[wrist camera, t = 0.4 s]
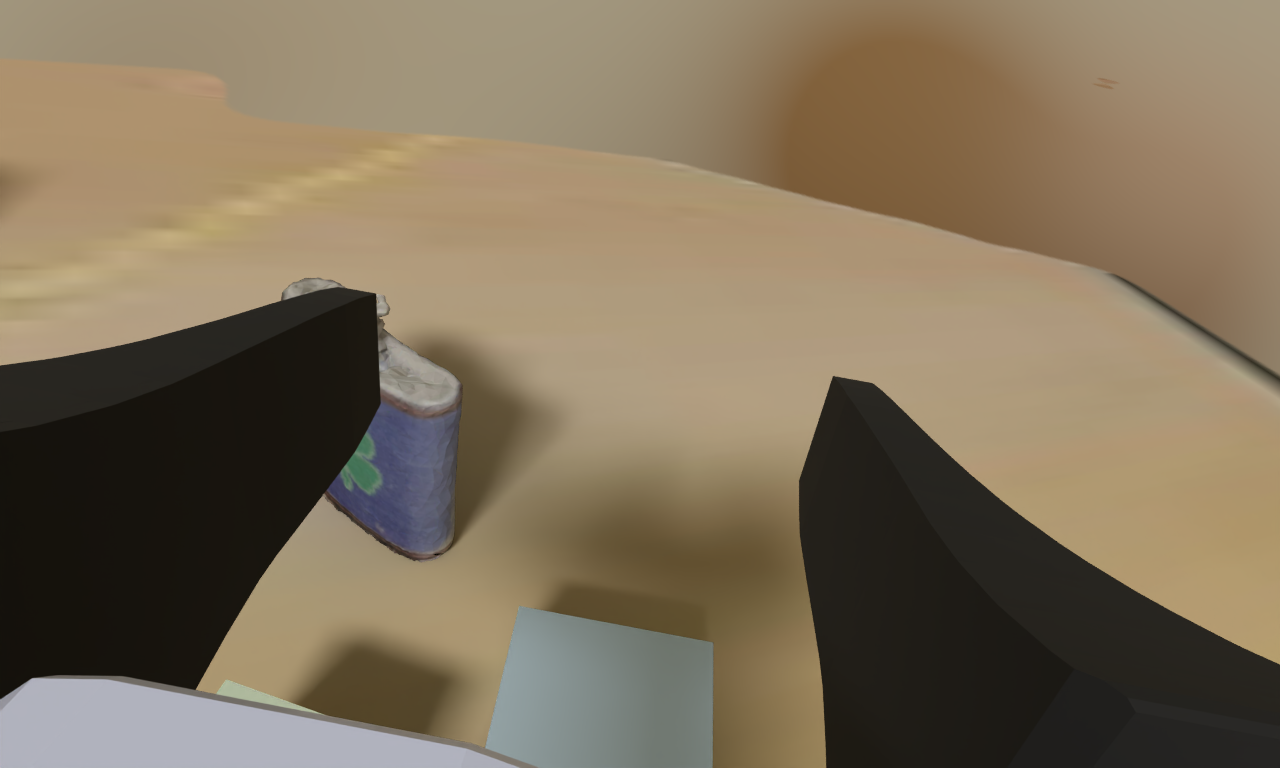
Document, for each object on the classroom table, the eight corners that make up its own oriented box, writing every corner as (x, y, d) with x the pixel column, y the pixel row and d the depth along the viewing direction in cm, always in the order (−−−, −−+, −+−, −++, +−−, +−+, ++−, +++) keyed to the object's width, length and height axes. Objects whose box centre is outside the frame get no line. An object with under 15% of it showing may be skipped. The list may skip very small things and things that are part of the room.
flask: (466, 541, 32) (480, 348, 25) (410, 581, 30) (409, 385, 23) (335, 424, 35) (315, 227, 28) (277, 454, 33) (241, 250, 26)
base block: (678, 907, 23) (711, 866, 21) (460, 872, 23) (466, 825, 20) (686, 695, 29) (713, 642, 26) (509, 663, 28) (519, 605, 26)
